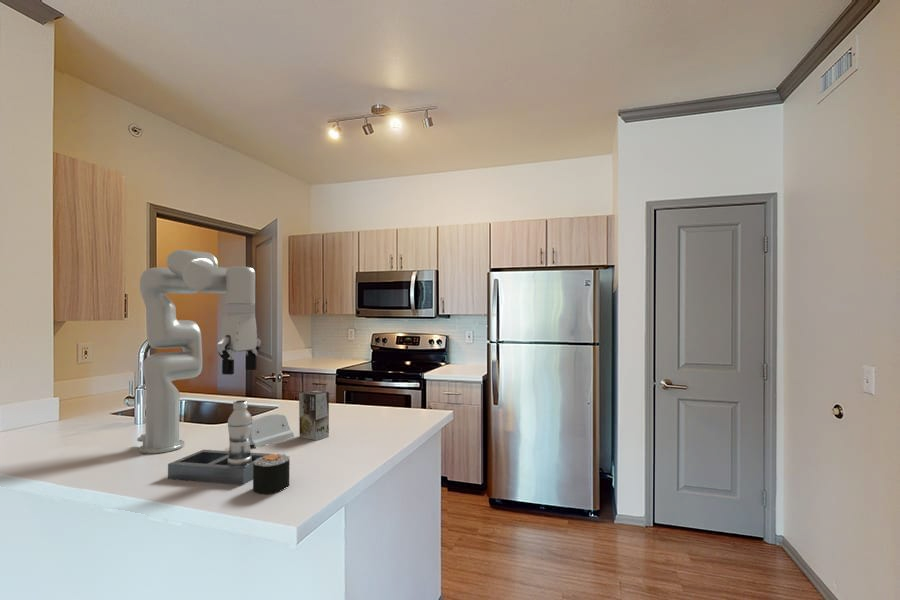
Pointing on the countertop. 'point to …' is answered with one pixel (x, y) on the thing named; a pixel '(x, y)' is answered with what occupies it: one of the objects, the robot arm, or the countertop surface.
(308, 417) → the coffee box
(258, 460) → the sushi
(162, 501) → the countertop surface
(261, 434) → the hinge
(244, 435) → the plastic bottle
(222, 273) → the robot arm
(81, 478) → the countertop surface
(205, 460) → the tray
